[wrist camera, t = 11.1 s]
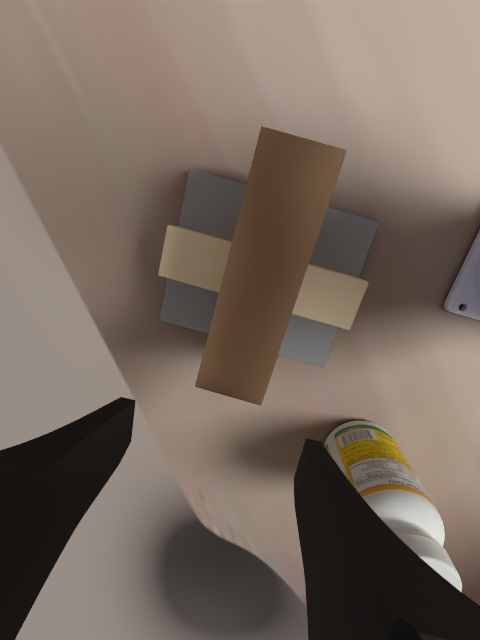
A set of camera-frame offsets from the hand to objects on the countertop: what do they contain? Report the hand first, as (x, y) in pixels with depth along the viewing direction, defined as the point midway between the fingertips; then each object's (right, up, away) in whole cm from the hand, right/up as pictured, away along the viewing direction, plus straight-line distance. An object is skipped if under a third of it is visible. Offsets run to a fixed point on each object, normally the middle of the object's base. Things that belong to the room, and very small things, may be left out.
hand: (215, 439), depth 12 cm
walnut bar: (+2, +8, +5) cm, 9 cm away
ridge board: (+2, +8, +8) cm, 12 cm away
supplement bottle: (+10, -5, +11) cm, 16 cm away
